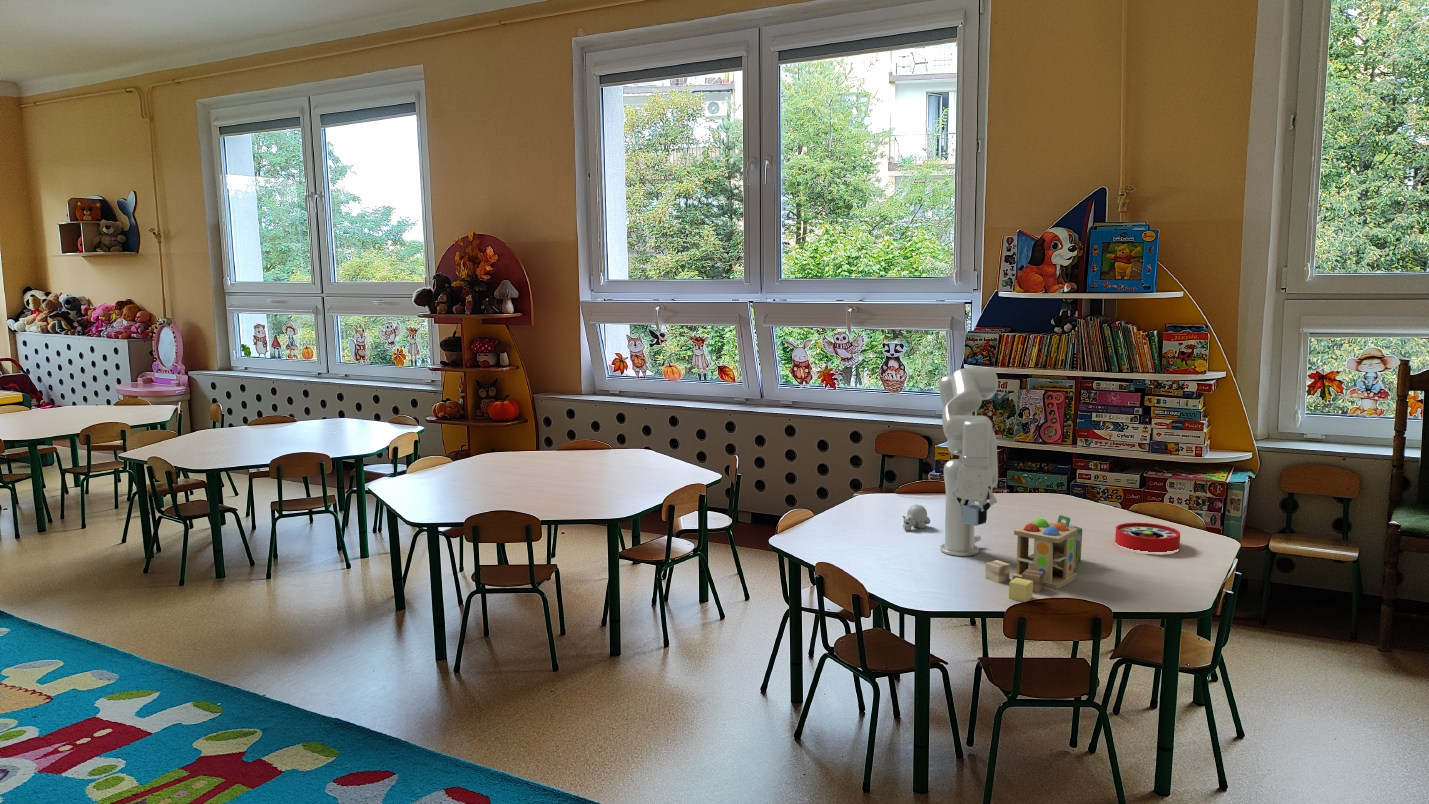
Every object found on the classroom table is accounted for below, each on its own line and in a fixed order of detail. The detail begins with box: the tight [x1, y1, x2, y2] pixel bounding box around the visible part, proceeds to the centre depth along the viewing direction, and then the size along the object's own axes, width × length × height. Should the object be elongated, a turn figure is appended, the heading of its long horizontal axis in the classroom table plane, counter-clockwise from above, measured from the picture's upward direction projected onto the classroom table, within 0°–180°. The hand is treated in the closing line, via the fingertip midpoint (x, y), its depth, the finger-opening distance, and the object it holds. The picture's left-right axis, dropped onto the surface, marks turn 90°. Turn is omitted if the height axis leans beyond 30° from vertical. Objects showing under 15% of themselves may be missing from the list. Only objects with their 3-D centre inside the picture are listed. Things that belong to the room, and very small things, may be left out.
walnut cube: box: [1022, 569, 1045, 594], centre depth 277 cm, size 5×5×5 cm
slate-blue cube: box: [962, 503, 985, 527], centre depth 277 cm, size 5×5×5 cm
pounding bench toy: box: [1012, 518, 1078, 590], centre depth 288 cm, size 23×14×18 cm, turn 135°
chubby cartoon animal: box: [902, 504, 931, 532], centre depth 343 cm, size 7×12×8 cm, turn 125°
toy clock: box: [1114, 522, 1181, 552], centre depth 317 cm, size 20×6×20 cm
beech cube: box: [985, 559, 1011, 584], centre depth 286 cm, size 5×5×5 cm
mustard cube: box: [1008, 578, 1034, 603], centre depth 269 cm, size 5×5×5 cm
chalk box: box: [1052, 514, 1083, 566], centre depth 302 cm, size 9×9×15 cm
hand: (973, 520), depth 277 cm, fingers closed on slate-blue cube, 4 cm apart
